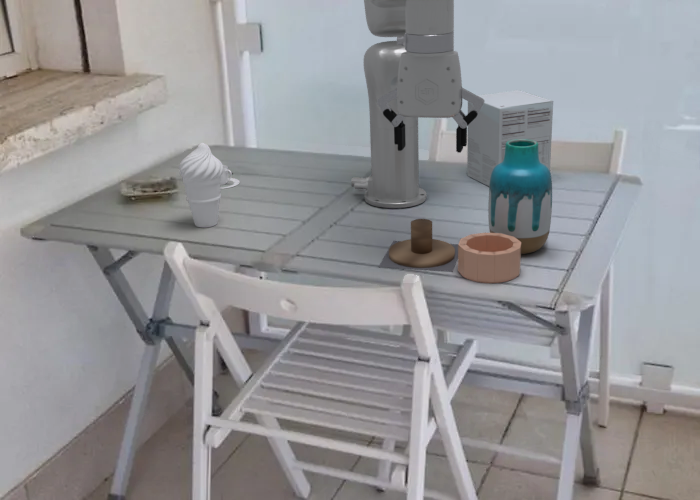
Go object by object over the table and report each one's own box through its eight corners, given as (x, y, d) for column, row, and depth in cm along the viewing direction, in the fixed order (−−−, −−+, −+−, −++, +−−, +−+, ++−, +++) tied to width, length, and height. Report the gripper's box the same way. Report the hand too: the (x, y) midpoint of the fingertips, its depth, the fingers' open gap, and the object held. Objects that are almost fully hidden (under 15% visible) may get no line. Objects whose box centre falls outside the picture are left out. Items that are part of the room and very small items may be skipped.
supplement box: (551, 182, 198) (555, 100, 192) (497, 192, 193) (499, 108, 187) (517, 167, 209) (519, 89, 203) (465, 175, 205) (466, 96, 199)
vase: (481, 241, 167) (483, 136, 160) (540, 238, 168) (544, 133, 161) (495, 264, 157) (497, 153, 150) (557, 260, 158) (562, 149, 151)
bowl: (454, 284, 150) (454, 252, 148) (463, 261, 159) (463, 231, 157) (517, 288, 148) (518, 256, 146) (522, 264, 156) (523, 234, 154)
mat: (378, 270, 157) (378, 266, 156) (393, 243, 168) (393, 240, 167) (452, 274, 154) (452, 271, 153) (463, 247, 165) (463, 244, 164)
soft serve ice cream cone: (192, 234, 176) (183, 151, 170) (178, 221, 183) (169, 141, 177) (234, 226, 179) (227, 144, 174) (219, 214, 186) (212, 135, 181)
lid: (382, 265, 157) (381, 232, 155) (396, 242, 167) (395, 210, 165) (449, 270, 154) (449, 235, 152) (459, 245, 164) (459, 213, 162)
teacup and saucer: (194, 185, 207) (192, 167, 205) (223, 177, 212) (222, 159, 210) (217, 193, 201) (215, 174, 199) (247, 184, 205) (245, 166, 204)
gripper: (370, 47, 147) (373, 154, 153) (481, 47, 143) (480, 157, 149) (381, 40, 154) (383, 142, 160) (487, 40, 149) (486, 145, 156)
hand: (430, 149), depth 154 cm, fingers open, 9 cm apart
